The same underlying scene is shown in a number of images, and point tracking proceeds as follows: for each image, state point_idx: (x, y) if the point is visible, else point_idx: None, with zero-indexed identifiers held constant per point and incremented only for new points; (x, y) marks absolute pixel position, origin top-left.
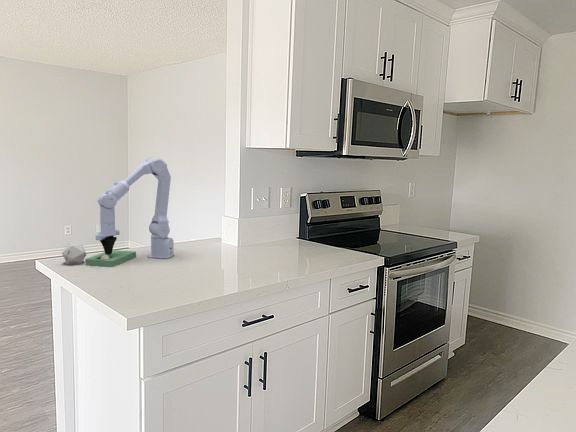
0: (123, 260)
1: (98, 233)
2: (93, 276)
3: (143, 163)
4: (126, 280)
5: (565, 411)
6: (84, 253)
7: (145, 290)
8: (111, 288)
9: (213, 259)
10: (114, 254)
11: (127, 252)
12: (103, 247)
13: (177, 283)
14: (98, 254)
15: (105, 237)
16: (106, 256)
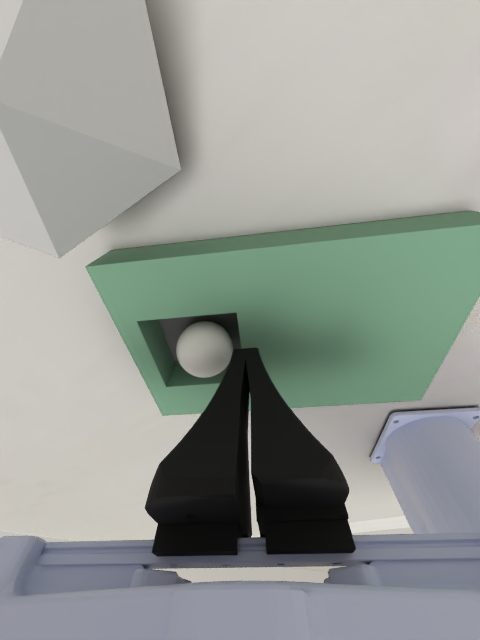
0: None
1: (172, 616)
2: (24, 406)
3: None
4: (85, 473)
5: None
6: (79, 240)
7: (68, 508)
8: (13, 477)
9: (378, 512)
10: (313, 350)
11: (390, 379)
12: (217, 390)
13: (147, 520)
14: (277, 249)
15: (167, 562)
16: (196, 376)
